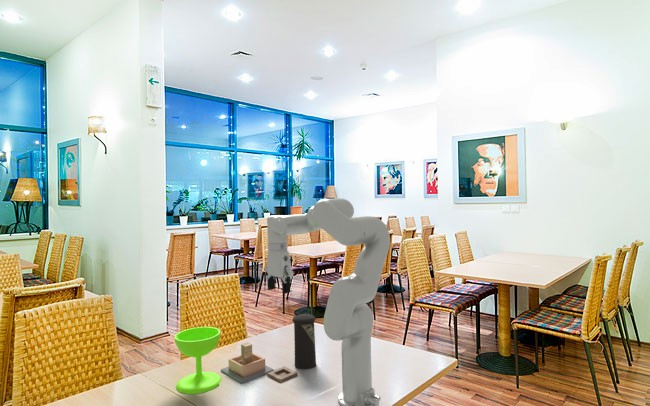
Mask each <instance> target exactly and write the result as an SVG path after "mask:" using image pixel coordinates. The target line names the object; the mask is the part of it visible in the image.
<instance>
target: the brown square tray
mask: <svg viewBox="0 0 650 406" xmlns="http://www.w3.org/2000/svg"><path fill="white" fill-rule="evenodd" d="M266 375H267V377H269V378H270V379H272V380H275V381H277V382H278V383H283V382H285V381H287V380H289V379H293V378H295V377H297V376H298V372H297V371H295V370H293V369H291V368H289V367H286V366H285V365H284V366H282V367H279V368H277V369H274V371H271V372H269V373H267V374H266Z"/></svg>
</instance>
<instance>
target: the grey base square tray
mask: <svg viewBox="0 0 650 406" xmlns="http://www.w3.org/2000/svg"><path fill="white" fill-rule="evenodd" d="M252 359H253V362H251V363H248V364H246V365H242V359H241V354H240V355H237V356H234V357H232V358H228V366H227V367H223V368H220V372H222V373H223V374H225V375H227V376H228V377H230V378H232V379H233V380H235V381H237V382H239V383H240V384H244V383H247V382H250V381H252V380H254V379H257V378H260V377H262V376H265V375H267V373H269V372H271V371H274V370H275V369H274V368H272V367H270V366H268V365H266V358H265V357H263V356H261V355H259V354H257V353H254V352H252Z"/></svg>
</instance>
